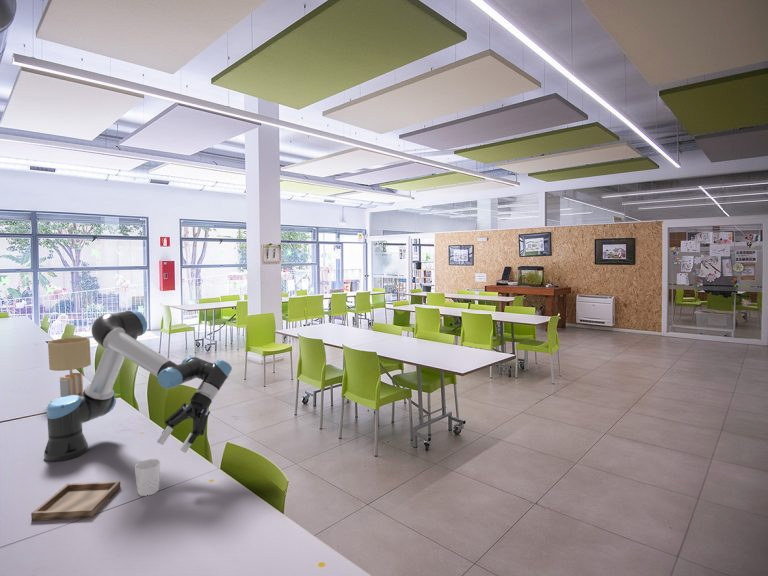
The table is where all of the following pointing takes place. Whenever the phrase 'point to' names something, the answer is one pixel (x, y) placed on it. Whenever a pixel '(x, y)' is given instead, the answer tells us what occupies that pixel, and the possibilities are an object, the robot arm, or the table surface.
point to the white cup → (147, 476)
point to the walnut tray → (76, 501)
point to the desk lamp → (69, 362)
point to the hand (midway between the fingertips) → (170, 447)
